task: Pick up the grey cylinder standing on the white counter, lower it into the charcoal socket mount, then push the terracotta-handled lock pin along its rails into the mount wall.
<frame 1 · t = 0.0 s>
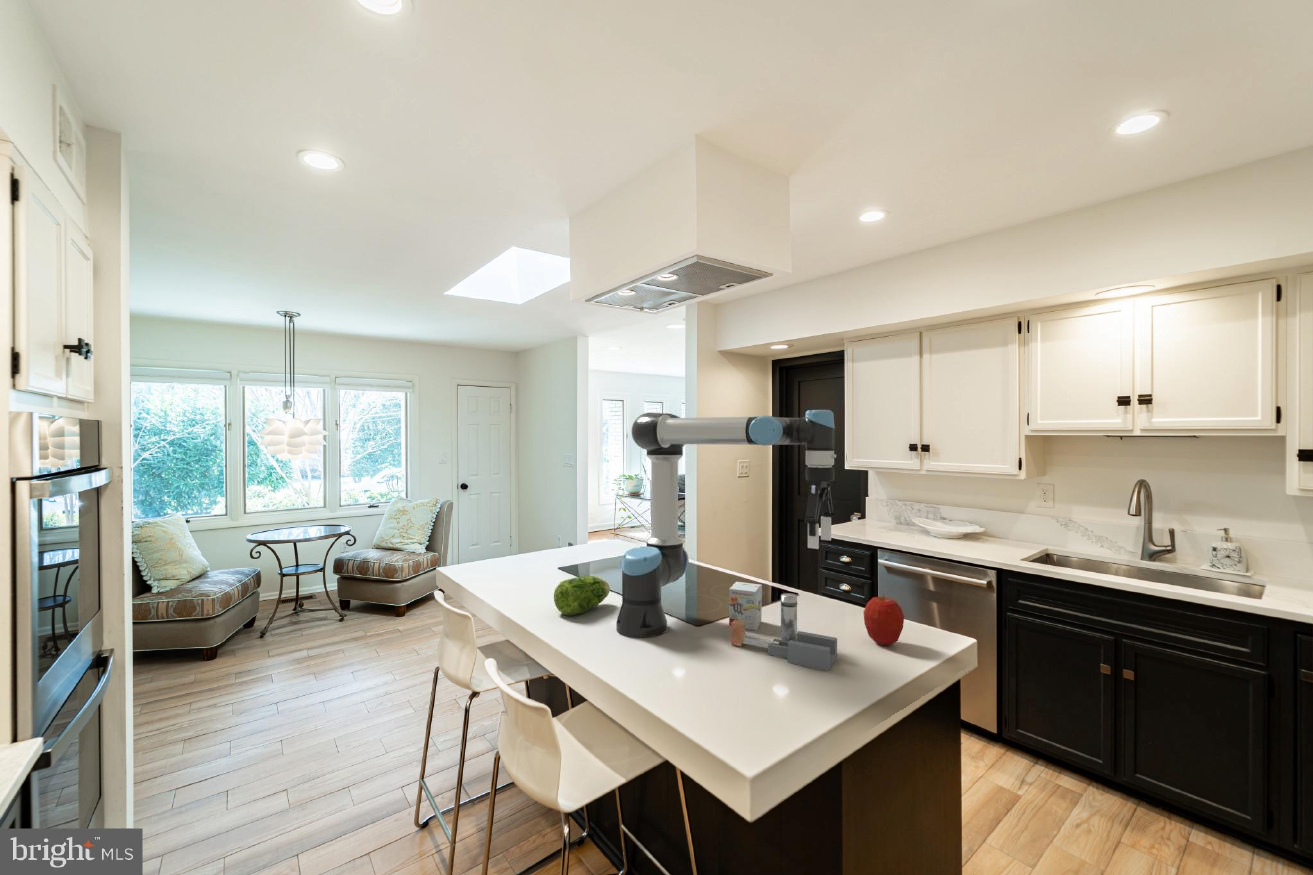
hand: (819, 544, 152), 28 cm above the kitchen island, fingers open, 13 cm apart
ink box: (745, 624, 170), on the kitchen island
grey cylinder: (788, 642, 155), on the kitchen island
mount: (812, 659, 143), on the kitchen island
apple: (883, 644, 154), on the kitchen island
green rounded piece: (584, 610, 184), on the kitchen island
lock pin: (755, 636, 150), point 3 cm above the kitchen island, slide at 6.0 cm
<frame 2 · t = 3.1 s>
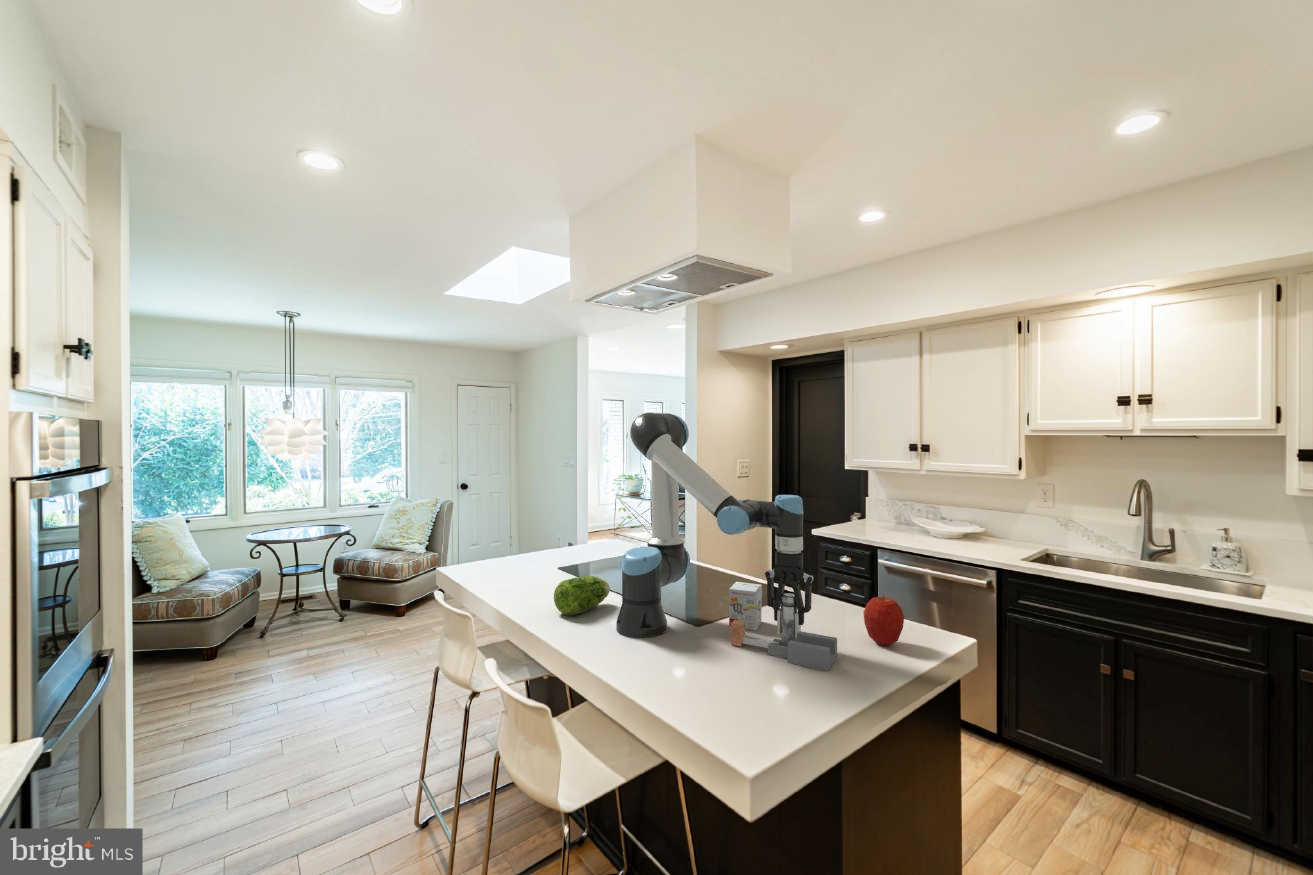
hand: (789, 634, 155), 2 cm above the kitchen island, fingers closed on grey cylinder, 4 cm apart
grey cylinder: (789, 642, 155), on the kitchen island, touching gripper
everything else where it was.
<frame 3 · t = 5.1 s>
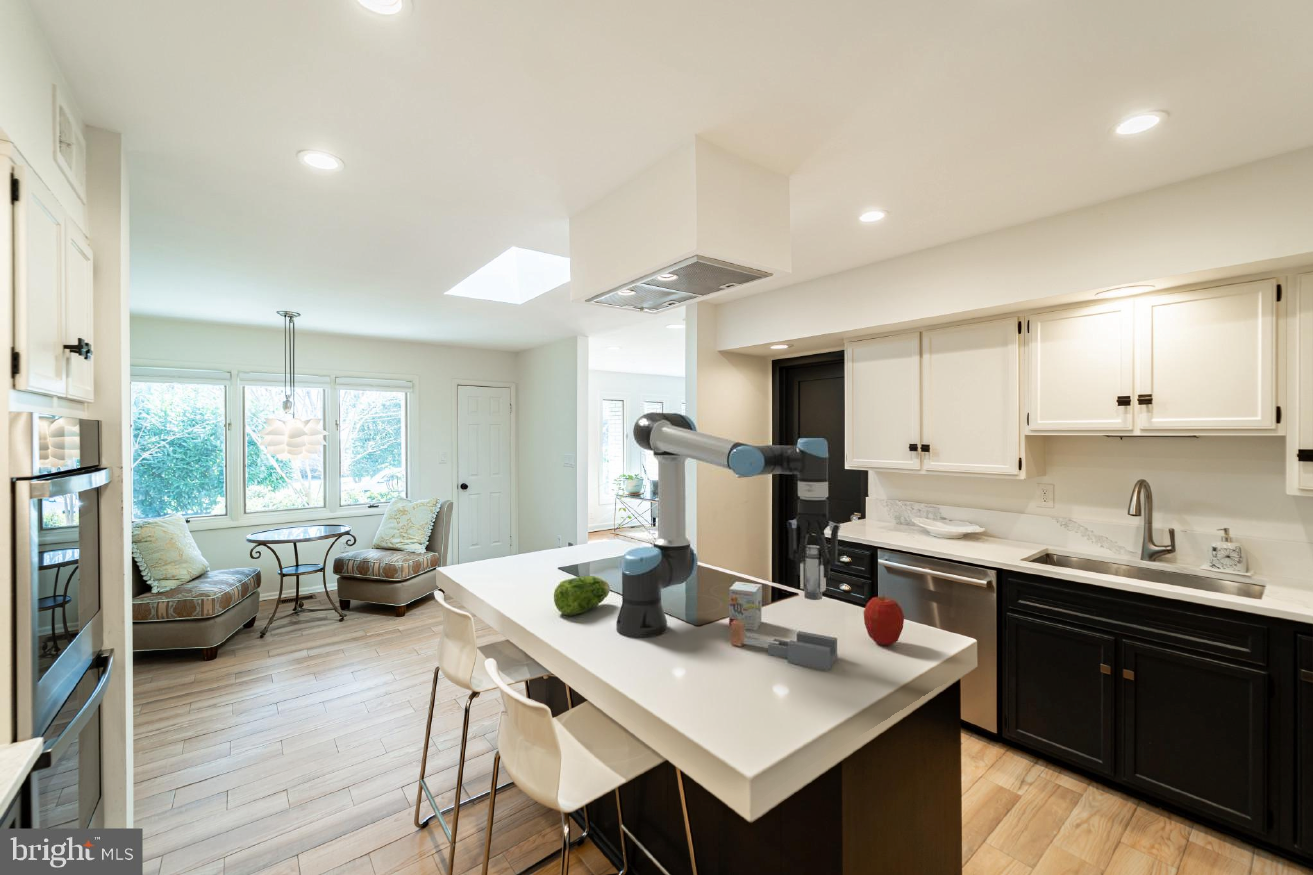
hand: (813, 588, 143), 18 cm above the kitchen island, fingers closed on grey cylinder, 4 cm apart
grey cylinder: (813, 597, 143), point 16 cm above the kitchen island, touching gripper
everything else where it was.
when the fingers open (3 cm above the kitchen island, at t = 7.6 s): grey cylinder drops 1 cm, resting in mount.
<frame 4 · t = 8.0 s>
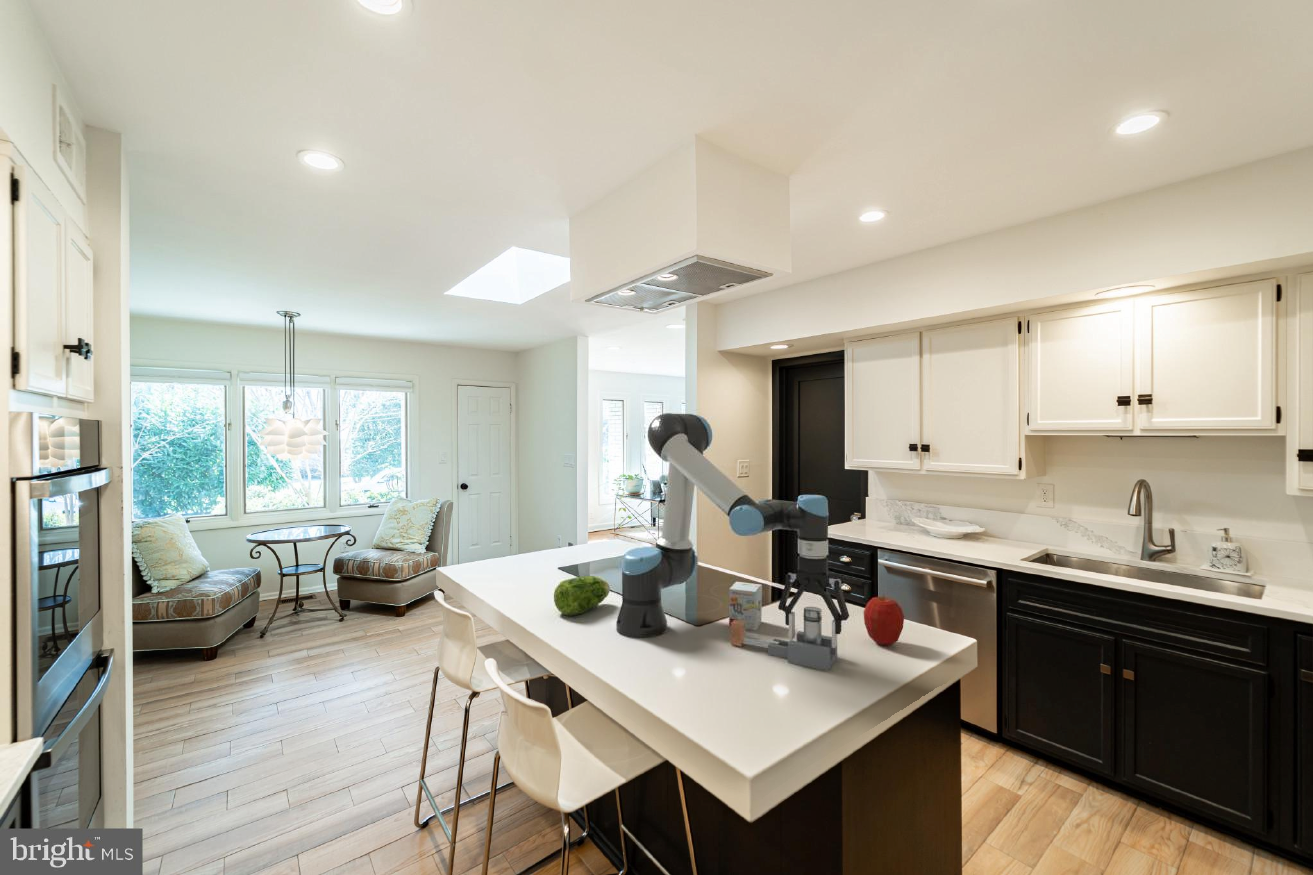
hand: (812, 641, 143), 5 cm above the kitchen island, fingers open, 10 cm apart
grey cylinder: (812, 659, 143), resting in mount
everything else where it was.
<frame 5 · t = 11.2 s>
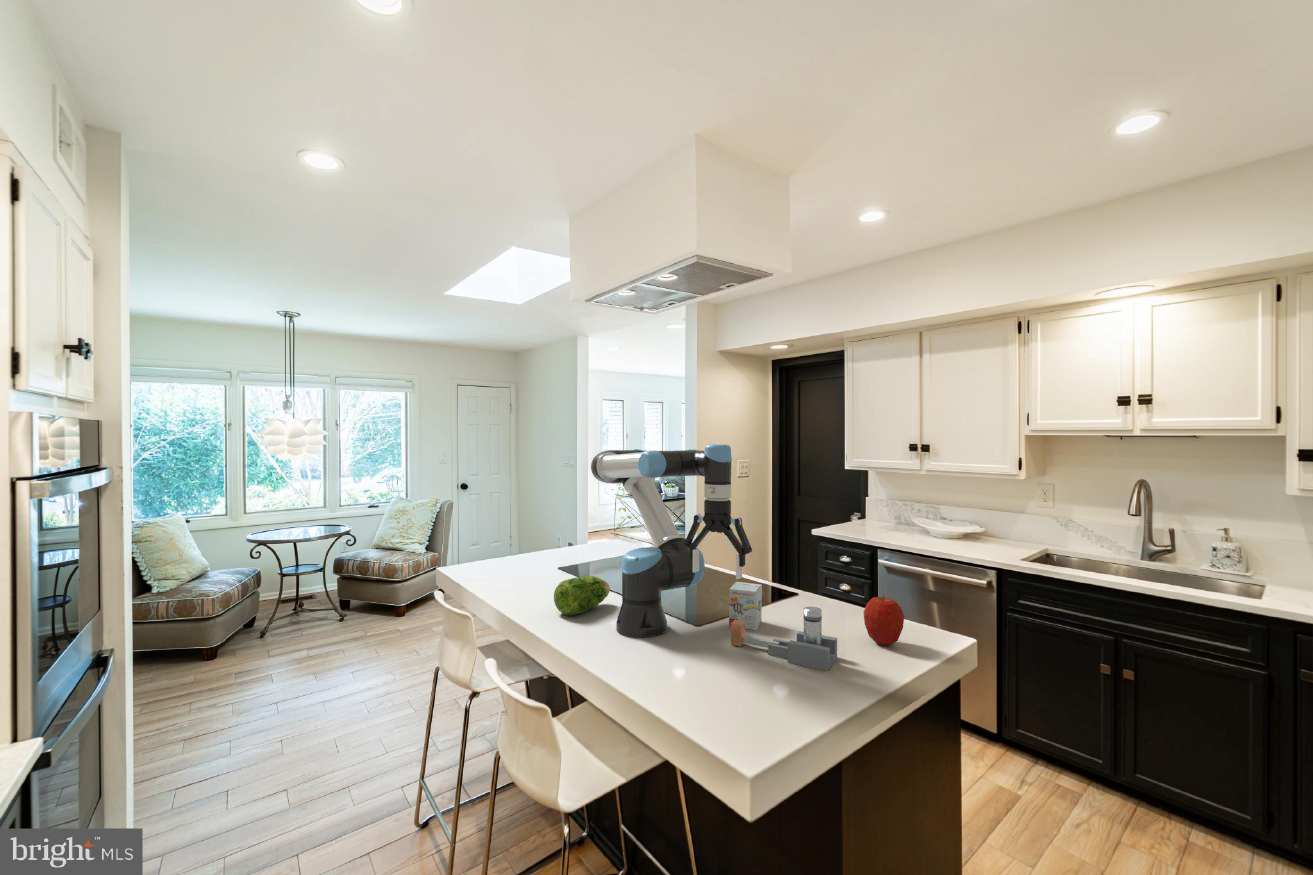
hand: (717, 574, 156), 18 cm above the kitchen island, fingers open, 12 cm apart
nothing on the kitchen island moved.
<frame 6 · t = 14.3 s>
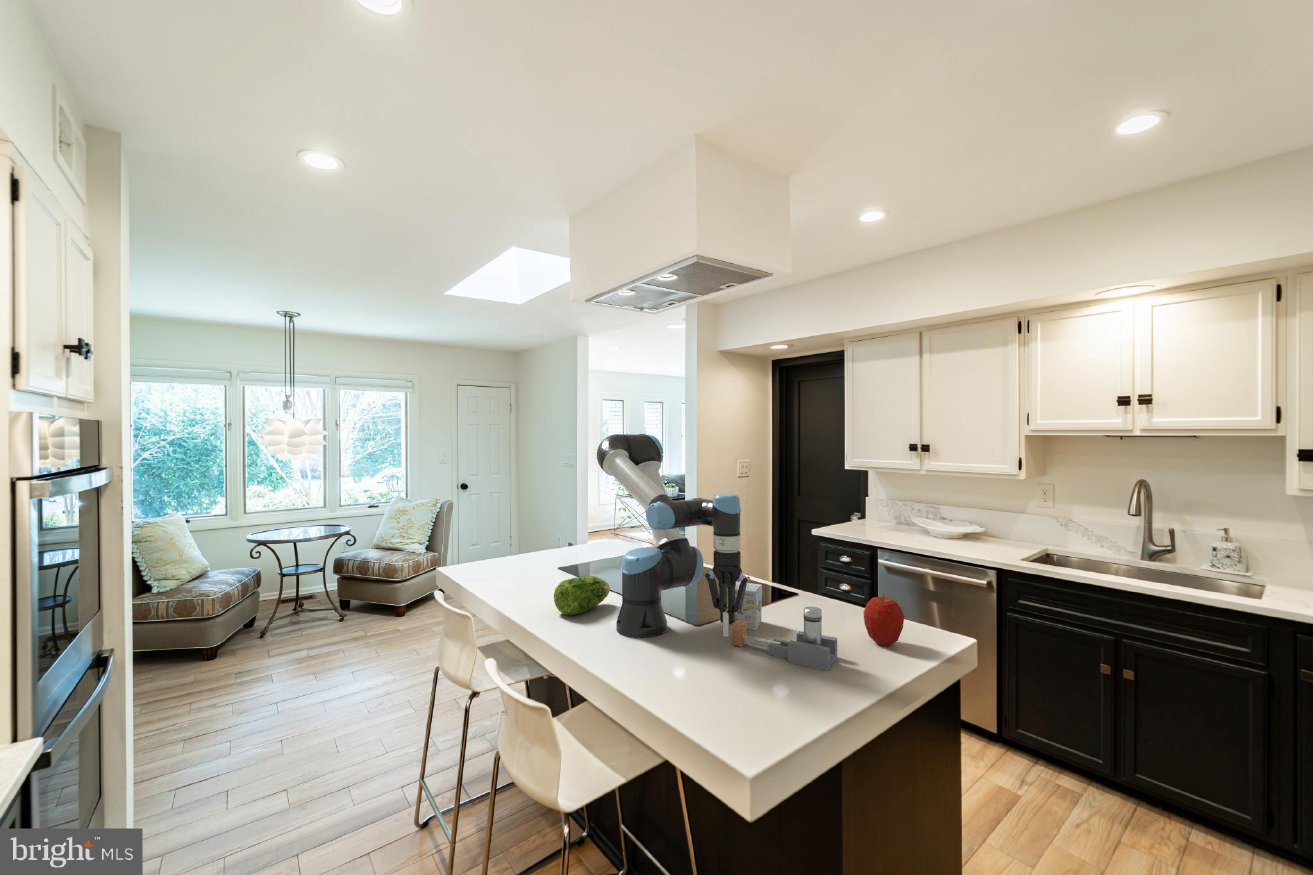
hand: (727, 634, 154), 2 cm above the kitchen island, fingers closed
lock pin: (756, 636, 150), point 3 cm above the kitchen island, slide at 5.6 cm, touching gripper
everything else where it was.
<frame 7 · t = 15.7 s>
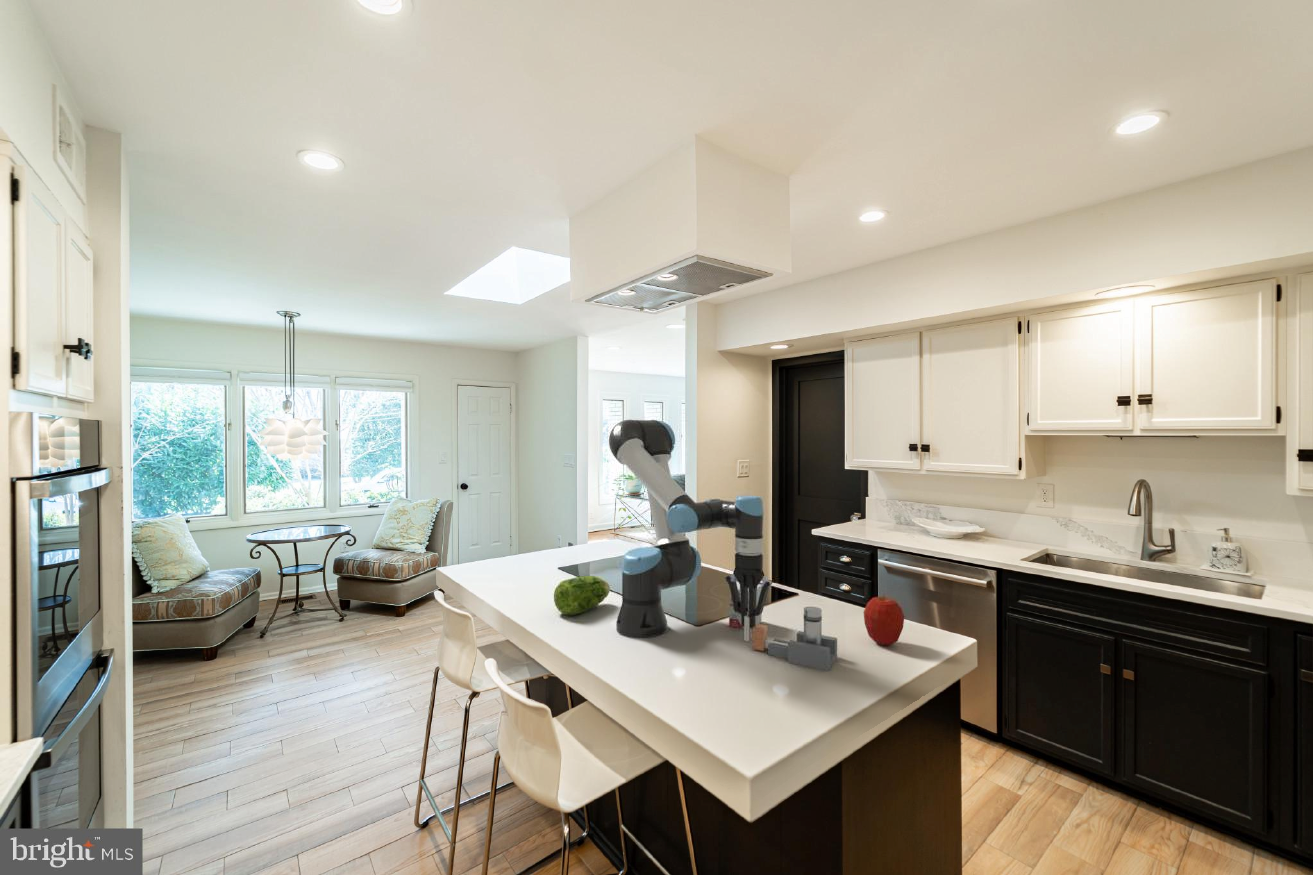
hand: (748, 639, 151), 2 cm above the kitchen island, fingers closed
lock pin: (778, 640, 147), point 3 cm above the kitchen island, slide at -0.4 cm, touching gripper
everything else where it was.
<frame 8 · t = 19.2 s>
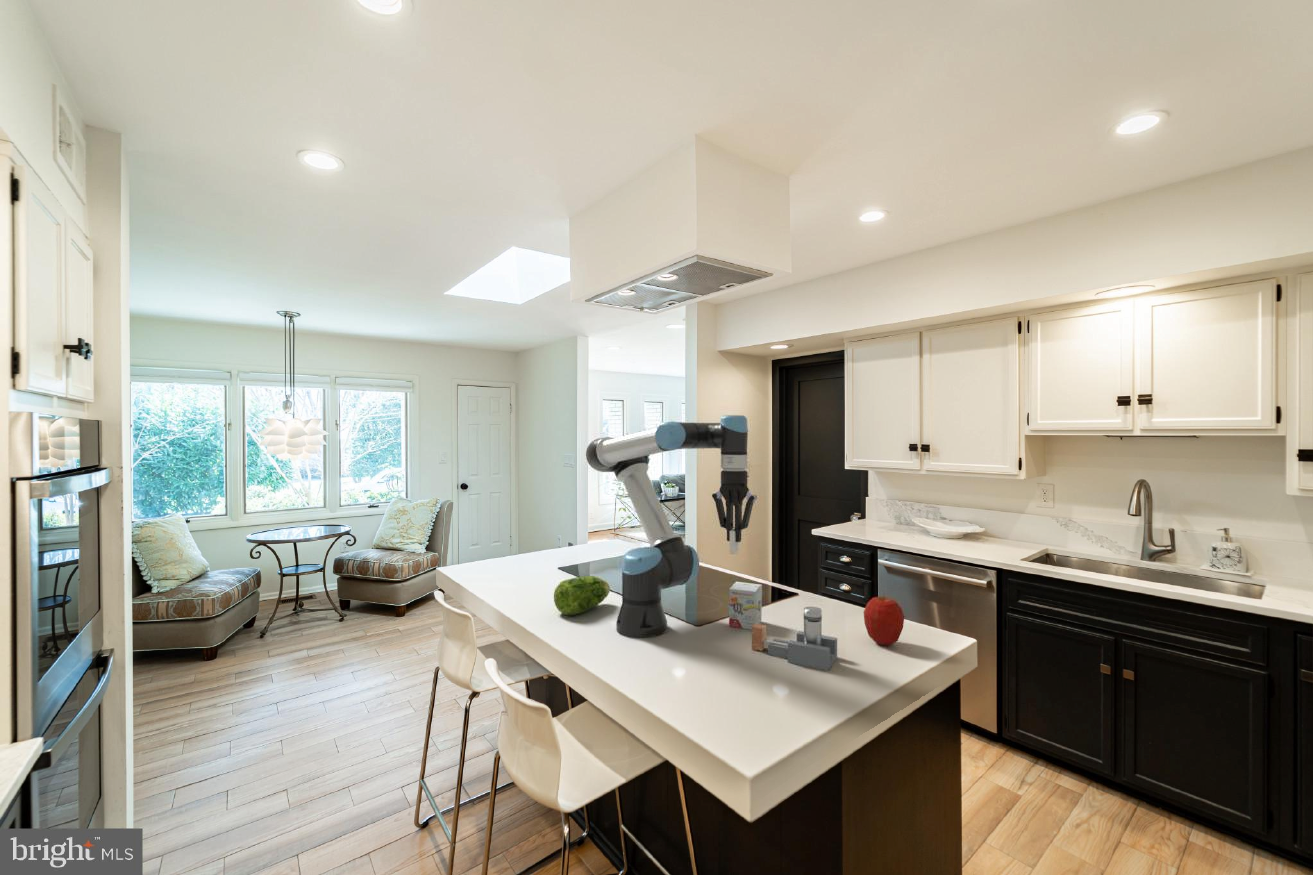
hand: (734, 553, 157), 24 cm above the kitchen island, fingers closed
lock pin: (777, 640, 147), point 3 cm above the kitchen island, slide at 0.0 cm
everything else where it was.
at the end: grey cylinder 0.1 cm off-centre on the mount, point 0.0 cm above the mount's base; grey cylinder tilted 0°; lock pin slide at 0.0 cm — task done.
